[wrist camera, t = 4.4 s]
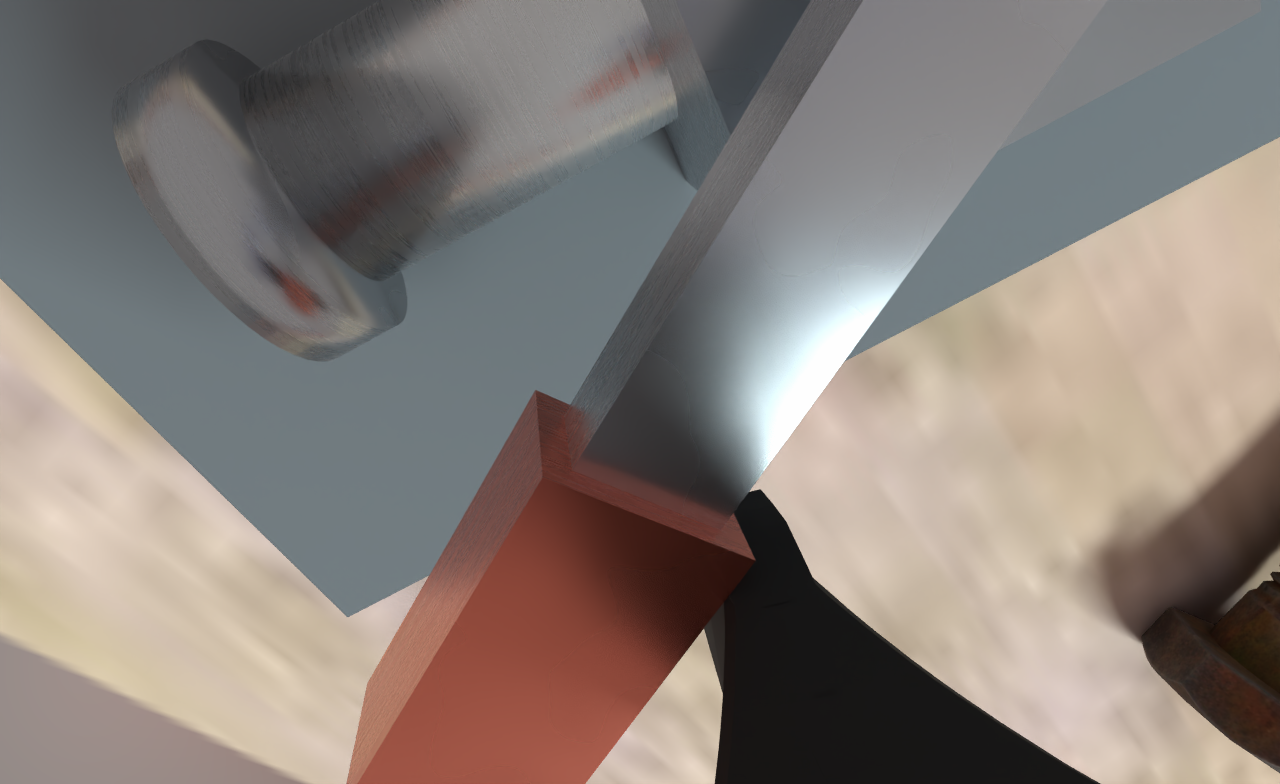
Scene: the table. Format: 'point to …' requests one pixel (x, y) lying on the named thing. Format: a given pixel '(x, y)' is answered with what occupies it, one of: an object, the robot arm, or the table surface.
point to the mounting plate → (476, 273)
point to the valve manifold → (476, 131)
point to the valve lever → (698, 393)
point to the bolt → (1227, 667)
